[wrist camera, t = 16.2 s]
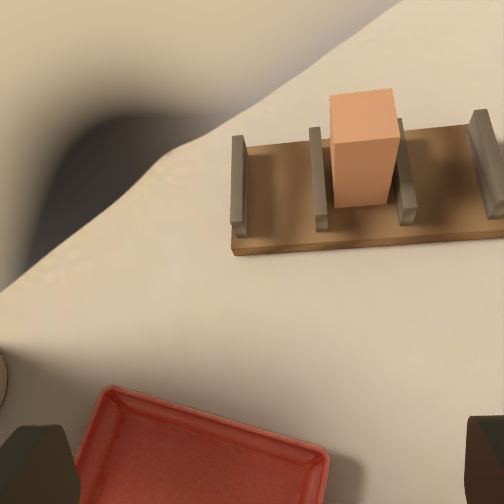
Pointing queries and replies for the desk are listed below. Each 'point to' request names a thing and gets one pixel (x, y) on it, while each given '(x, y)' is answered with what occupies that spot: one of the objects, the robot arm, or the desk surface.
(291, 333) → the desk surface
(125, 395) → the plant saucer
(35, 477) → the robot arm
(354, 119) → the terracotta block
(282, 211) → the walnut rack
